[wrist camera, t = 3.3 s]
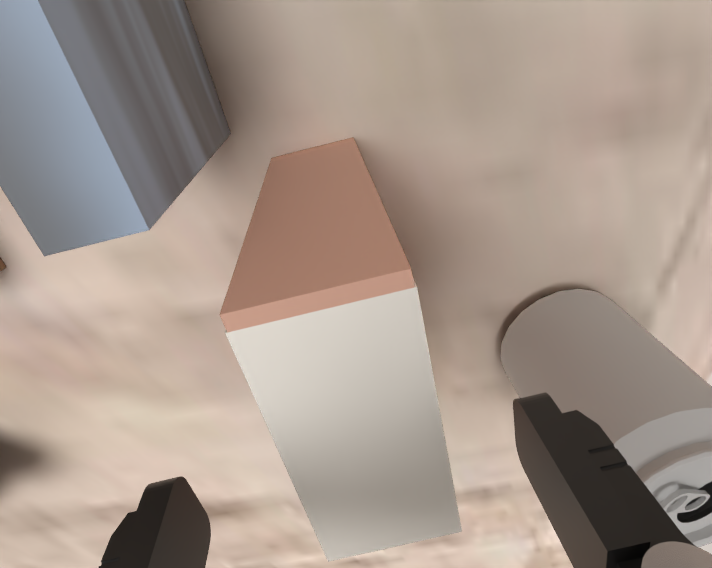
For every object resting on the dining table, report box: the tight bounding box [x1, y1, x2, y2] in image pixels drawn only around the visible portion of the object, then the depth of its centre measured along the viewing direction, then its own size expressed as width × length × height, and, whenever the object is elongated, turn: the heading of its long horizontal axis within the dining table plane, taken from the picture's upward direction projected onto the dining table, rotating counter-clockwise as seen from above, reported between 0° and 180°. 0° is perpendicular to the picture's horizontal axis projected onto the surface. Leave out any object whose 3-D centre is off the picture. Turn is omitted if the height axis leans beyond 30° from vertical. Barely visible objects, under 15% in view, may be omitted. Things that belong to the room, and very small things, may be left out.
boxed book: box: [220, 138, 462, 562], centre depth 17 cm, size 4×9×14 cm, turn 13°
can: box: [500, 289, 712, 547], centre depth 23 cm, size 8×8×12 cm
